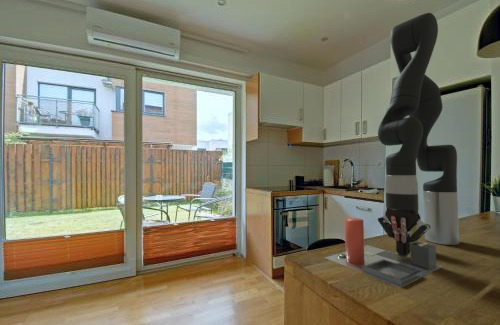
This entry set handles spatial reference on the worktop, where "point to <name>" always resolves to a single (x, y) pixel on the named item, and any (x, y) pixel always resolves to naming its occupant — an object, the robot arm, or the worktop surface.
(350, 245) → the red tapered cylinder
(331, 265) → the worktop surface
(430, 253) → the breaker
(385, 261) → the panel
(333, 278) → the worktop surface
